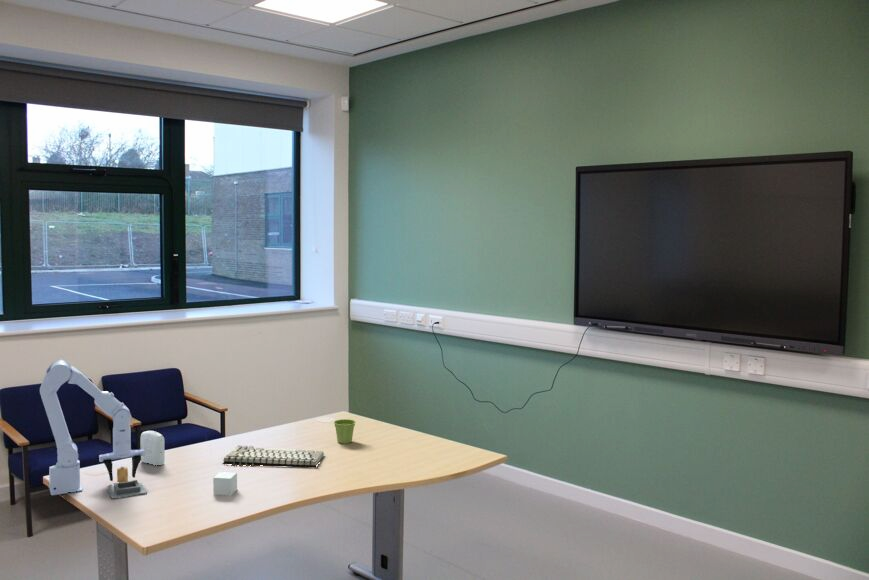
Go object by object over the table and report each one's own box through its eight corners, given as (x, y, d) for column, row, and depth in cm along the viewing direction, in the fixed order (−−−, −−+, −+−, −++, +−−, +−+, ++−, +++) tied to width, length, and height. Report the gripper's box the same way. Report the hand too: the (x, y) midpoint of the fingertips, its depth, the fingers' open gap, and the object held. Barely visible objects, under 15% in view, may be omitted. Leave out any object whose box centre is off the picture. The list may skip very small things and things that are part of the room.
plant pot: (331, 439, 312) (331, 419, 312) (353, 438, 315) (353, 418, 315) (335, 445, 304) (335, 425, 303) (357, 444, 306) (357, 424, 306)
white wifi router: (166, 464, 276) (166, 432, 275) (157, 467, 273) (156, 434, 272) (148, 459, 281) (147, 428, 280) (138, 462, 278) (138, 430, 277)
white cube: (220, 488, 252) (220, 471, 251) (237, 489, 251) (237, 472, 251) (213, 494, 246) (213, 477, 245) (230, 495, 245) (230, 478, 245)
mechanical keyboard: (326, 454, 293) (326, 446, 293) (317, 470, 274) (317, 462, 274) (234, 452, 295) (234, 444, 294) (218, 468, 276) (218, 459, 275)
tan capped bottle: (118, 484, 253) (117, 469, 253) (116, 481, 256) (116, 466, 256) (128, 483, 255) (128, 467, 255) (127, 480, 258) (126, 464, 258)
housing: (111, 499, 240) (111, 492, 239) (107, 488, 249) (107, 482, 249) (147, 493, 245) (146, 487, 245) (141, 483, 255) (141, 477, 255)
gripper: (100, 446, 247) (101, 485, 248) (145, 440, 255) (146, 478, 256) (98, 441, 253) (98, 479, 254) (142, 435, 261) (142, 472, 262)
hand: (122, 478), depth 256 cm, fingers open, 7 cm apart
